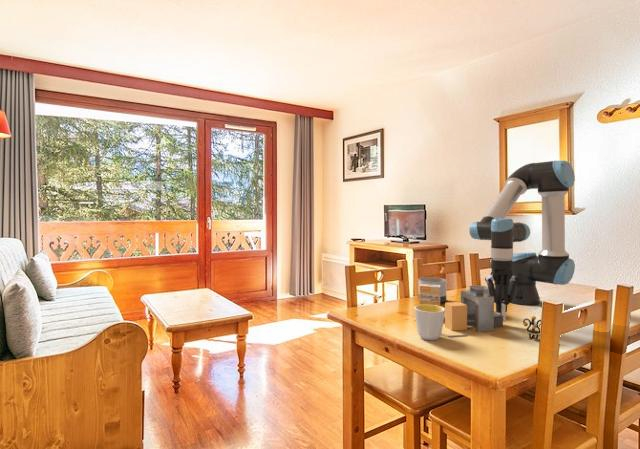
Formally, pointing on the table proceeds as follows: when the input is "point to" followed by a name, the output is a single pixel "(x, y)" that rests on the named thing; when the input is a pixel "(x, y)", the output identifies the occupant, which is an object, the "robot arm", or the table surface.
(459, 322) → the plug
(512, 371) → the table surface
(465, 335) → the bay
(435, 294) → the supplement box
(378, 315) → the table surface
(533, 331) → the figurine
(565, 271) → the robot arm
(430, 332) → the mug
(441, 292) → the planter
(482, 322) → the housing
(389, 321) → the table surface
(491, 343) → the table surface
